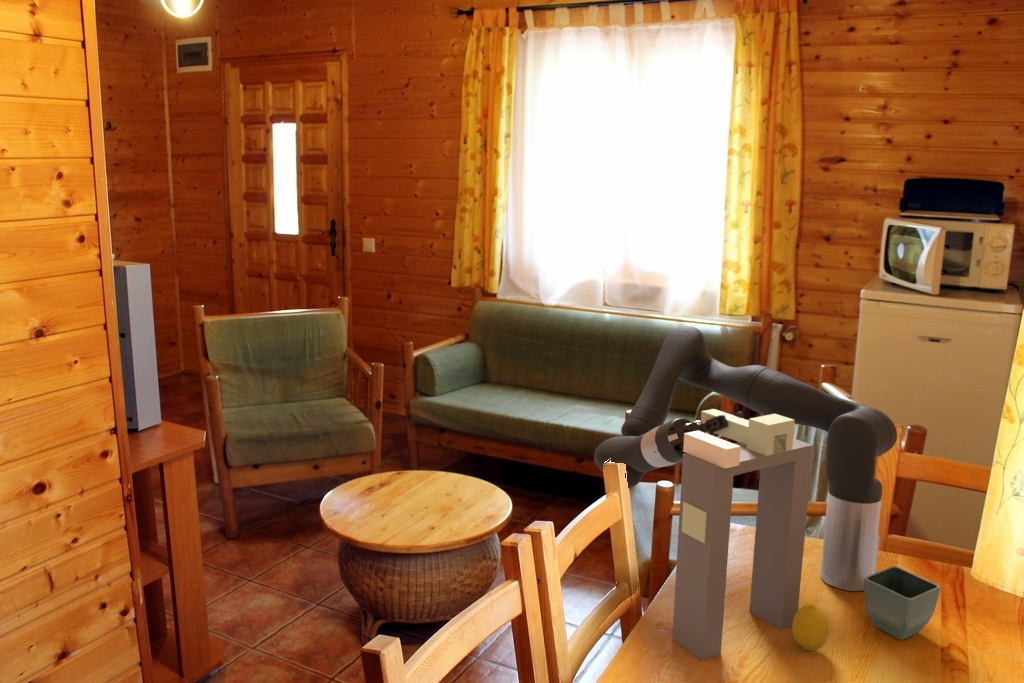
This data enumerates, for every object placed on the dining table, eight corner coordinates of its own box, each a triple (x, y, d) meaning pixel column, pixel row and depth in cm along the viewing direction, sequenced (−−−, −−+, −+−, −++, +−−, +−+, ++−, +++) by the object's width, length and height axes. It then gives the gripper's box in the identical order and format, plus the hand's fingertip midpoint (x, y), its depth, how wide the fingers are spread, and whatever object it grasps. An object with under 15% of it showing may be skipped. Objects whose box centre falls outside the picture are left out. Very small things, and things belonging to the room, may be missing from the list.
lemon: (829, 662, 132) (833, 615, 131) (792, 657, 134) (796, 611, 132) (823, 643, 138) (828, 598, 136) (788, 639, 139) (792, 594, 137)
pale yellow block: (719, 424, 148) (721, 396, 147) (792, 449, 135) (794, 419, 134) (694, 429, 145) (695, 401, 144) (766, 455, 132) (768, 425, 131)
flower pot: (904, 650, 136) (910, 599, 134) (857, 625, 143) (862, 577, 142) (936, 635, 141) (942, 586, 139) (888, 612, 148) (894, 565, 146)
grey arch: (765, 605, 149) (779, 433, 143) (796, 623, 144) (812, 444, 137) (670, 640, 138) (681, 454, 132) (701, 661, 132) (713, 468, 126)
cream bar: (697, 448, 135) (698, 430, 134) (739, 465, 127) (740, 446, 127) (683, 451, 133) (684, 433, 133) (725, 468, 126) (726, 449, 125)
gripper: (704, 456, 158) (770, 434, 144) (646, 469, 150) (709, 447, 136) (692, 418, 160) (756, 392, 146) (634, 429, 152) (695, 403, 138)
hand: (733, 419), depth 141 cm, fingers open, 3 cm apart
